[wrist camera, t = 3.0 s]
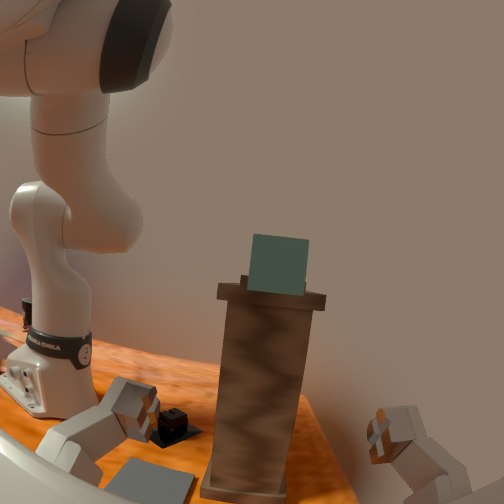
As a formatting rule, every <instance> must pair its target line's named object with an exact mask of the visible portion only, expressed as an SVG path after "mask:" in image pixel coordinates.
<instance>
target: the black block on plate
mask: <svg viewBox="0 0 504 504" xmlns="http://www.w3.org/2000/svg"><path fill="white" fill-rule="evenodd" d="M201 432H203V431H201V430H199V429H198V428H196V427H194V426H192V425H190V424H188V418H187V414H185V413H184V412H182V411H180V410H178V409H176V408H173V409H170V410H169V412H168V411H163V412H159V417H158V427H157V428H154V429H153V432H152V434H151V437H150V439H149V440H151V441H152V442H153V443H155V444H156V445H158V446H159V447H161V448H162V449H164V448H166V447H169V446H171V445H174V444H176V443H178V442H181V441H183V440H186V439H188V438H190V437H192V436H195V435H197V434H199V433H201Z"/></svg>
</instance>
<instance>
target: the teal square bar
mask: <svg viewBox="0 0 504 504" xmlns="http://www.w3.org/2000/svg"><path fill="white" fill-rule="evenodd" d="M308 248H309V240H305V239H296V238H287V237H279V236H269V235H261V234H254V235H253V244H252V252H251V260H250V269H249V277H248V286H247V290H254V291H262V292H271V293H280V294H289V295H299V296H303V295H304V287H305V278H306V268H307V258H308Z"/></svg>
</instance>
